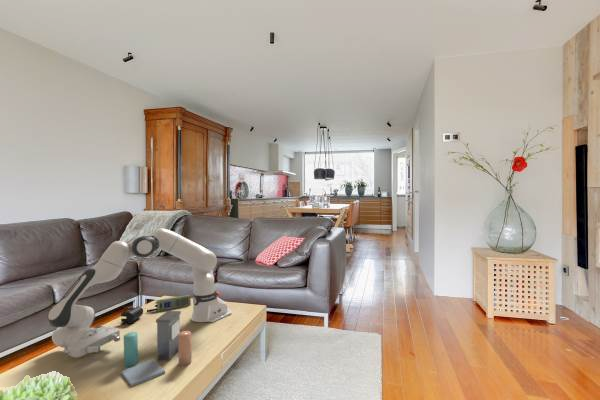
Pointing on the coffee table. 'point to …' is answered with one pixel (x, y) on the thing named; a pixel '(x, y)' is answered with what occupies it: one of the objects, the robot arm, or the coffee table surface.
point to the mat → (142, 372)
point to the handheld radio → (172, 303)
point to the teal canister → (130, 349)
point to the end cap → (131, 315)
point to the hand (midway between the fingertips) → (109, 344)
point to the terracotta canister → (184, 347)
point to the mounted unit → (168, 335)
